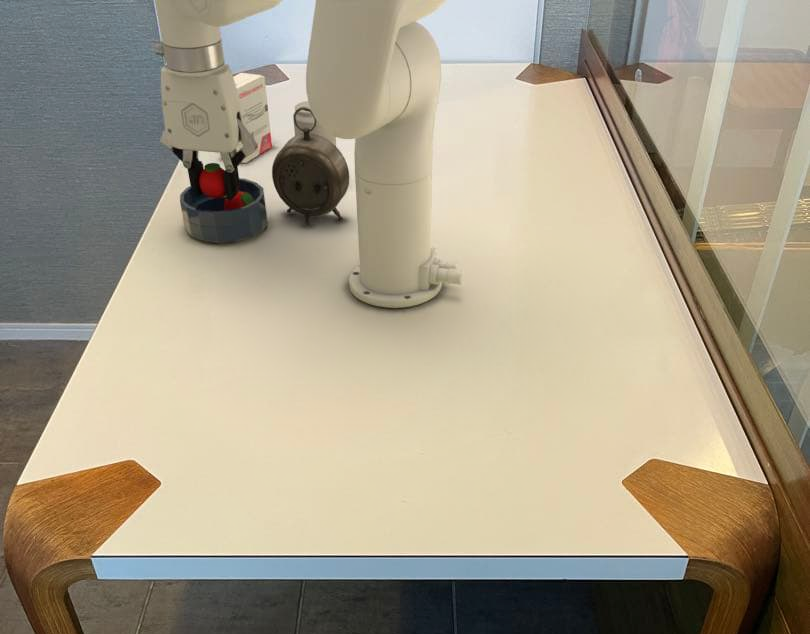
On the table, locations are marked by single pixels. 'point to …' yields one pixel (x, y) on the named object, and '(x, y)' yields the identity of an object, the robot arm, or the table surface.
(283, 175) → the alarm clock
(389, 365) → the table surface
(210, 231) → the bowl
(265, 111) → the ink box
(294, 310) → the table surface
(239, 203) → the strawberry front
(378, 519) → the table surface
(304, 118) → the beverage can
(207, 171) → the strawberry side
